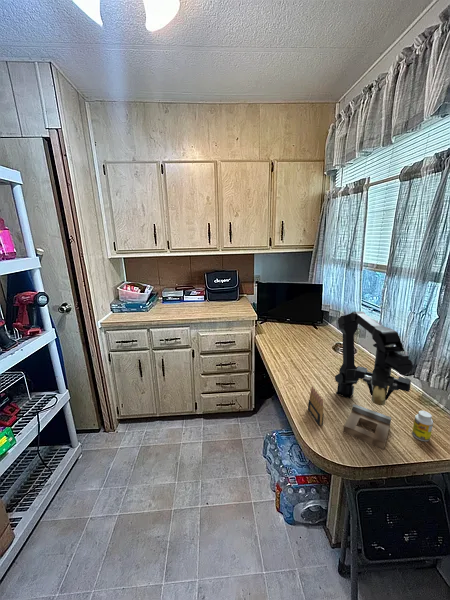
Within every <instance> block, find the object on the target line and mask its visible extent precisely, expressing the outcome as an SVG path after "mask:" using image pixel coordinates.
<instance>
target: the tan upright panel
mask: <svg viewBox="0 0 450 600" xmlns="http://www.w3.org/2000/svg"><path fill="white" fill-rule="evenodd" d="M321 397H322V396H321V395H320V394H319V393H318V392H317V390H316V389H315V388H314V386H311V389H310V393H309V399H308V406H307V410H308V412H309V413H310V415H311V416H312V418H313V419H314V420H315V422H316V423H317V426H324V415H325V414H324V399H323V398H321Z"/></svg>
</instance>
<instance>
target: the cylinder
mask: <svg viewBox="0 0 450 600" xmlns="http://www.w3.org/2000/svg"><path fill="white" fill-rule="evenodd" d="M388 388H389V386H387V387H386V388H381V387H378V386H374V385H373V392H372V396H371V402H372V403H373V404H374V405H377V406H385V405H386V401H387V400H386V395H387V392H388Z"/></svg>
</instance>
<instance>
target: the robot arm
mask: <svg viewBox="0 0 450 600" xmlns="http://www.w3.org/2000/svg"><path fill="white" fill-rule="evenodd" d="M337 324H338V329H339V331H340V332H341V334H342V364H341V366H340V367H339V373H338V374H336V375H334V380H335V382H337V390H336V393H335V394H336V395H338V396H341V397H345V398H348V399H351V397H352V396H353V395H354V394H355V393H354V392H355V386H354V385H357V383H358V382H359V380H362V381H363V382H365V383H366V385H367V387H368V390H369V394H370V396H371V397H372V392H373V385H374V386H378V387H381V388H386V387H387V386H388V387H387V395H386V401H387V400H388V399H389V398H390V396H391V394H392V393H393V392H395V391H403V392H407V393H409V392H410V391H411V384H412V379H410V378H407V377H403V376H400V375H399V376H398V378H396V377H394V376H392V375H391V373H392V369H393V370H394V371H395V372H396V373H397V372H398V373H399V374H401V375H406V374H409V373H410V372H411V371H412V369H413V368H414V364H413V362H412V360H411V359H410V356H409V355H407V354H405V353H402V352H405V349H404V345H403V343H402V340H401V338H400V335H399V333H398V332H397V331H396V330H394V329H393V328H390V327H388V326H387V327H386V326H383V325H381V324H380V323H378V322H377V321H375V320H374V319H373V318H372V317H370V316H368V315H367V314H366V313H365V311H361V310H360V311H352V312H350V313H347V314H345V315H340V316H339V318H338V319H337ZM359 326H361V327H362V328H363V329H364V330H365V331H367V332H368V333H369V334H370V335H371V339H372V340H373V341H374V342H375V343H374V344H372V346H373V347H374V348H376V349H375V357H374V359H375V360H374V365H373V370H372V372H370V371H368V368H367V367H363V366H360V365H357V366H356V365H355V334H356V332H357V330H358V328H359Z"/></svg>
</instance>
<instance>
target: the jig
mask: <svg viewBox="0 0 450 600" xmlns="http://www.w3.org/2000/svg"><path fill="white" fill-rule="evenodd" d="M391 421H392V417H391V416H388V415H386V414H383V413H380V412H377V411H376V410H372V409H369V408H366V407H364V406H361V405H359V404H355V403H353V404H352V407H351V411H350V413H349V414H348V417H347V419H346V421H345V422H344V425H343V431H342V432H343V433H345V434H346V435H349V436H351V437H354V438H355V439H358V440H361V441H362V442H366V443H367V444H370V445H372V446H374V447H377V448H380V449H382V450H385V446H386V443H387V439H388V435H389V432H390V428H391V423H392V422H391ZM359 425H362V426H364V427H366V428H369V429H371V430H374V432H372V431H370V430H367V429H365V428H363V427H360V426H359Z"/></svg>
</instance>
